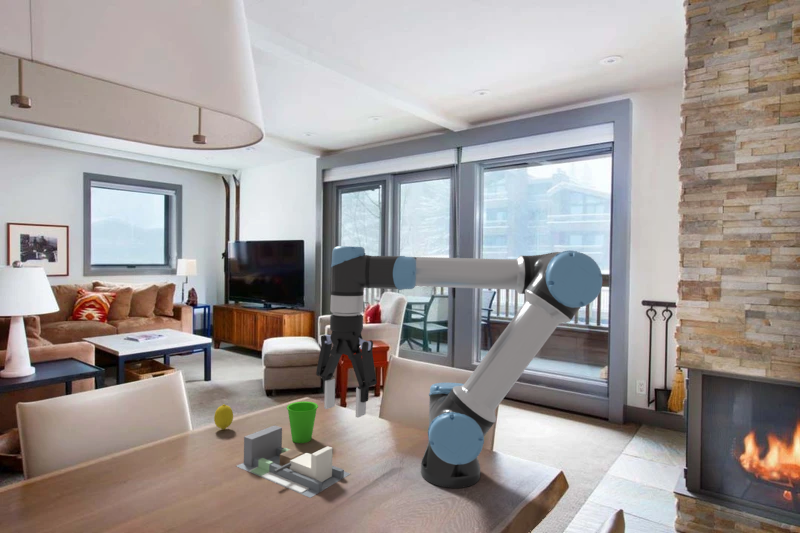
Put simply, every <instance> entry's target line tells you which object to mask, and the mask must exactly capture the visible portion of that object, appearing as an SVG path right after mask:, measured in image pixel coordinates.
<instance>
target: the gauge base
mask: <svg viewBox="0 0 800 533" xmlns="http://www.w3.org/2000/svg"><path fill="white" fill-rule="evenodd" d="M282 444H283V427H281V426H278V425H272V426H269V427H266V428H263V429H260V430H259V431H255V432H253V433H250V434H247V435H244V437H243V462H242V463H240V464H237V465H235V467H237V468H238V469H241V470H242V471H243V470H244V471H246V472H248V473H251V474H253V475H255V476H258V477H259V478H262V479H265V480H266V481H270V482H272V483H274V484H276V485H279V486H280V487H284V488H286V489H289V490H291V491H293V492H295V493H297V494H300V495H302V496H303V497H304V496H305V497H307V498H309V499H311V498H313V497H315V496H316V495H318V494H319V493H321V492H324V490H326V489H328V488H330V487H331V486H333V485H335V484H336V483H339V482H340V481H341V480H343V479H344V478H346V477H348V476H350V475H351V473H350V472H347V471H345V469H344V468H340V467H338V466H336V465H332V477H330V478H328V479H326V480H325V481H323V482H321V481H318V480H316V479H313V478H311V477H308V476H305V475H303V474H300V473H298V472H295V471H293V470H290V469H288V468H285V469H283V470H281V471H279V472H277V473H274V470H275V469H277V468H279V467H281V466H280V454H282V453H284V452H286V451H288V450H290V448H287V447H282Z"/></svg>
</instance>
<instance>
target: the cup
mask: <svg viewBox="0 0 800 533" xmlns="http://www.w3.org/2000/svg"><path fill="white" fill-rule="evenodd" d="M318 408H319V405H318V404H317V403H316V402H313V401H303V400H302V401H296V402H292V403H290V404H289V403H288V405H287V407H286V410H287V413H288V418H289V427H290V432H291V435H290V436H291V440H292V443H295V444H305V443H309V442H311V441H312V438H313V436H312V435H313V433H314V426H315V421H316V414H317V410H318Z"/></svg>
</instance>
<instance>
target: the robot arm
mask: <svg viewBox="0 0 800 533" xmlns="http://www.w3.org/2000/svg"><path fill="white" fill-rule="evenodd" d="M365 250H366V249H365V248H364V247H362V246H347V245H346V246H345V245H342V246H341V245H338V246H335V247H334V248H333V249H332V252H331V265H330V281H331V282H330V286H331V287H330V290H331V291H330V306H329V307H330V310H329V311H330V312H331V313H332V314H330V316H329V325H330V326H329V329H330V330H331V334H323V335H321V336H320V344H321V345H320V350H319V355H318V361H317V366H316V372H315V374H316V376H317V377H320V378H321V379H322V392H323V394H324V406H323V408H324V409H325V410H329V409H331V408H333V407H335V403H336V402H335V401H336V400H335V395H336V378H334V377H335V376H334V374H335V372H336V369H337V366H338V365H339V362H340V360H341V357H342V355H345V356H347V357H348V360H350V362H351V365H352V368H353V371H354V374H355V377H356V381H357V383H358V386H357V387H355V388H356V389H355V391H356V392H355V418H361V417H363V416H365V415H367V414H366V413H367V402H368V401H369V393H370V392H369V389H370V387H372V386H375V385H376V384H377V383H378V382H377V376H376V367H375V361H374V356H373V355H374V354H373V347H374V341H373V340H371V339H370V340H366V339H363V336H362V332H363V330H364V315H363V312H364V295H365V293H364V290H365V289H384V290H399V291H403V290H413V289H415V288H416V287H427V288H428V287H429V288H430V287H431V288H457V289H485V290H486V289H489V290H513V291H515V292H517V293H518V294H519V295H521V294H522V295H525V301H524V302H523V304H522V305H521V307H520V308H519V310H518V311H517V312H516V313H515V315H514V316H513V317H512V319H511V321H510V322H509V323H508V325H507V326H506V328H504V330H503V331H502V332H501V334H500V335H499V337H498V338H497V339H496V341H494V344H492V346H491V347H490V349H489V350H488V352H487V353H486V354H485V356H484V357H483V358H482V360H480V362H479V364H478V365H477V367H476V368H474V370H473V371H472V373H471V375H470V376H469V377H468V379H467V380H466V381H465V383H460V382H459V383H458V382H436V383H432V384H431V385H430V387H429V393H428V397H429V401H428V402H429V405H428V406H429V409H428V413H429V414H428V427H427V428H428V430H427V438H428V440H427V441H428V442H427V446H426V448H425V451H424V453H423V457H422V459H421V463H420V474H421V476H422V478H423V479H424V480H426V481H427V482H429V483H431V484H433V485H435V486H439V487H442V488H443V487H444V488H451V489H459V488H460V489H462V488H467V487H471V486H473V485H475V484H477V483H478V482H479V480H480V479H481V465H480V462H479V459H478V457H479V456H480V454H481V452H482V450H483V448H484V443H485V436H486V435H487V434H488V432H489V431H490V430H491V428H492V427H493V425H494V424H495V422H496V421H497V418H496V409H497V408H498V406H499V405H501V402H502V401H503V400H504V398H505V397H506V395H507V394H508V393H509V391H510V390H511V389H512V388H513V386H514V385H515V383H516V382H517V381H518V380H519V378H520V377H521V376H522V374H523V373H524V372H525V370H526V369H527V368H528V366H529V365H530V364H531V363H532V361H533V360H534V358H535V357H536V355H537V354H538V353H539V351H540V350H541V349H542V348H543V346H544V345H545V344H546V342H547V341H548V340H549V339H550V337H551V335H552V334H554V332H555V330H556V329H557V327H558V326H559V325H560V324H562V323H571V321H572V319H573V318H574V317H575V316H576V314H577V313H578V312H579V310H580V309H581V308H583V307H586V306H588V305H590V304H591V303H593V302H594V301H595V300H596V299H597V297H598V296H599V295H600V294H601V291H602V287H603V275H602V271H601V269H600V266H599V265H598V263H597V262H596V260H595V259H594V258H592V257H591V256H589V255H587V254H586V253H582V252H580V251H577V250H563V251H554V252H549V253H548V252H547V253H544V254H535V255H519V256H518V257H517V258H516V259H510V258H509V259H508V258H471V257H469V258H468V257H467V258H466V257H465V258H464V257H434V256H433V257H432V256H431V257H430V256H429V257H427V256H426V257H424V256H405V255H369V254H366V253H365V252H366V251H365Z"/></svg>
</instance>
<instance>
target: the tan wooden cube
mask: <svg viewBox="0 0 800 533" xmlns="http://www.w3.org/2000/svg"><path fill="white" fill-rule="evenodd" d="M289 449H290V448H289ZM303 454H304V452H302V451H298V450H296V449H294V448H291V449H290V450H288V451H286V452H284V453H282V454H280V466H283V465H285V464H288V463H290V460H292V459H294V458H297V457H299V456H301V455H303ZM287 468H288V469H290V467H287Z"/></svg>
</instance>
